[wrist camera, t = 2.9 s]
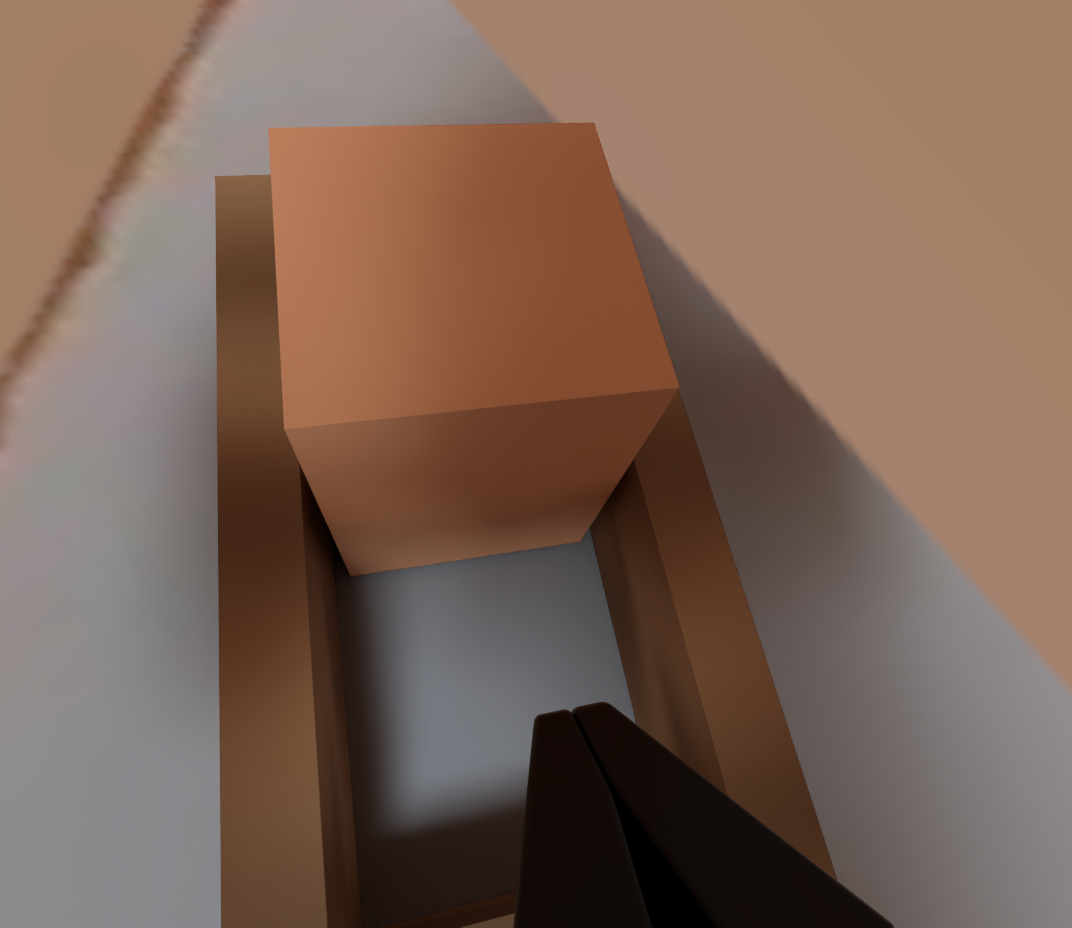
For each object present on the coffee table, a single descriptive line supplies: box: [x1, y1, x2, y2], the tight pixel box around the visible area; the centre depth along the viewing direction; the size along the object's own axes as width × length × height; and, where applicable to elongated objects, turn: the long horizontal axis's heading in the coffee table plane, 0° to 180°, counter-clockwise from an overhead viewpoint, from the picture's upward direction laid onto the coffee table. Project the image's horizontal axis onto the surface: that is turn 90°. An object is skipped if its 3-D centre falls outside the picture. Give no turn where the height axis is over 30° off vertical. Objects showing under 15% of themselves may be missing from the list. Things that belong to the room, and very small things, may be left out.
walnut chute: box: [215, 175, 837, 928], centre depth 15 cm, size 18×10×4 cm, turn 11°
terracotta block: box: [268, 123, 680, 576], centre depth 15 cm, size 6×6×8 cm
